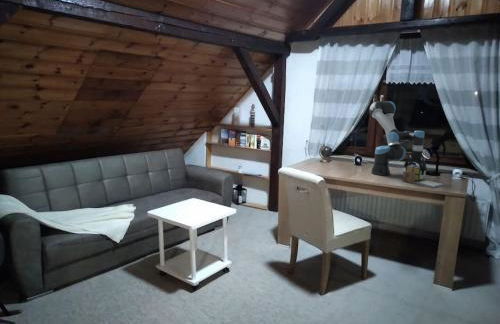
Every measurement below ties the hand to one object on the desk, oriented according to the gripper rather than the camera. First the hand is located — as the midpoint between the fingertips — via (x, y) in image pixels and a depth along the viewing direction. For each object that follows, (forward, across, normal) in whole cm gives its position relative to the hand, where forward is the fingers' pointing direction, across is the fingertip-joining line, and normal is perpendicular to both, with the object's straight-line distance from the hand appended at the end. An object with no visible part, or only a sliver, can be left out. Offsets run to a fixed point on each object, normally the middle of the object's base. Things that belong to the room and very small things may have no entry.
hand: (413, 177), depth 285 cm
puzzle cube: (+1, 0, 0) cm, 1 cm away
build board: (+2, +16, -4) cm, 17 cm away
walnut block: (+2, +4, -12) cm, 13 cm away
